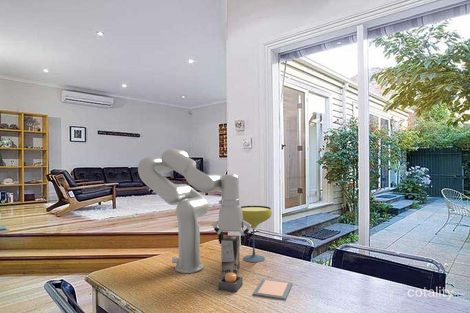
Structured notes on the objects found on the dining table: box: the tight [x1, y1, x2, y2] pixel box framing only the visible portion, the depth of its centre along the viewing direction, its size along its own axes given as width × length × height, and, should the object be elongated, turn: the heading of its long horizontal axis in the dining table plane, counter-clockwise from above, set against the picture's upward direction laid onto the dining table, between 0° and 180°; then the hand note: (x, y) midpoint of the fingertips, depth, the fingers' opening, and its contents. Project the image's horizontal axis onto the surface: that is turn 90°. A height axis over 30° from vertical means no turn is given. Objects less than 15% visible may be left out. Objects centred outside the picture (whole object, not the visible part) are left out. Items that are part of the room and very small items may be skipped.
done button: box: [225, 273, 236, 283], centre depth 115 cm, size 4×4×3 cm
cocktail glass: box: [240, 205, 273, 263], centre depth 148 cm, size 18×18×25 cm
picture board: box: [252, 278, 293, 301], centre depth 112 cm, size 12×14×1 cm
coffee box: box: [220, 234, 241, 279], centre depth 127 cm, size 9×6×16 cm
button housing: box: [217, 275, 243, 293], centre depth 115 cm, size 7×7×3 cm
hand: (232, 243), depth 127 cm, fingers open, 9 cm apart
